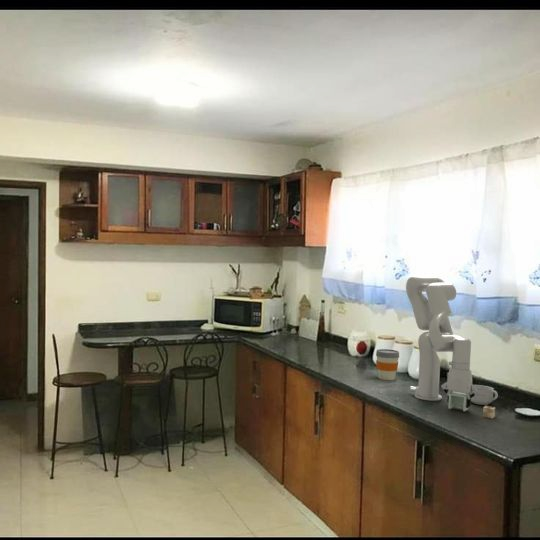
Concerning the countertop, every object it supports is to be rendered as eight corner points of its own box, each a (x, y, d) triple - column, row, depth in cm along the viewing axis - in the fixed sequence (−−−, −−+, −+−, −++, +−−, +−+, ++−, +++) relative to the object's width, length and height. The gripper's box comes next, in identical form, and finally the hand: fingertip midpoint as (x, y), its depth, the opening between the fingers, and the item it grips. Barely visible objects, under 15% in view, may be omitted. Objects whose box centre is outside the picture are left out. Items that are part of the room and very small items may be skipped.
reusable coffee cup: (394, 381, 307) (395, 354, 306) (371, 378, 313) (372, 351, 312) (401, 377, 318) (402, 351, 317) (379, 374, 324) (380, 348, 323)
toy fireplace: (448, 408, 254) (449, 393, 253) (452, 405, 259) (453, 391, 259) (464, 411, 250) (465, 396, 249) (468, 408, 255) (469, 394, 255)
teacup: (463, 401, 271) (464, 384, 271) (481, 399, 275) (482, 383, 275) (484, 409, 258) (485, 391, 258) (503, 407, 262) (504, 390, 262)
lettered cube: (482, 416, 246) (483, 407, 246) (484, 414, 249) (485, 405, 249) (492, 418, 244) (493, 409, 244) (494, 416, 247) (495, 407, 247)
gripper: (438, 364, 255) (436, 404, 256) (479, 370, 246) (476, 411, 246) (443, 362, 262) (441, 400, 262) (483, 367, 252) (481, 407, 253)
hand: (458, 405), depth 254 cm, fingers closed on toy fireplace, 7 cm apart
